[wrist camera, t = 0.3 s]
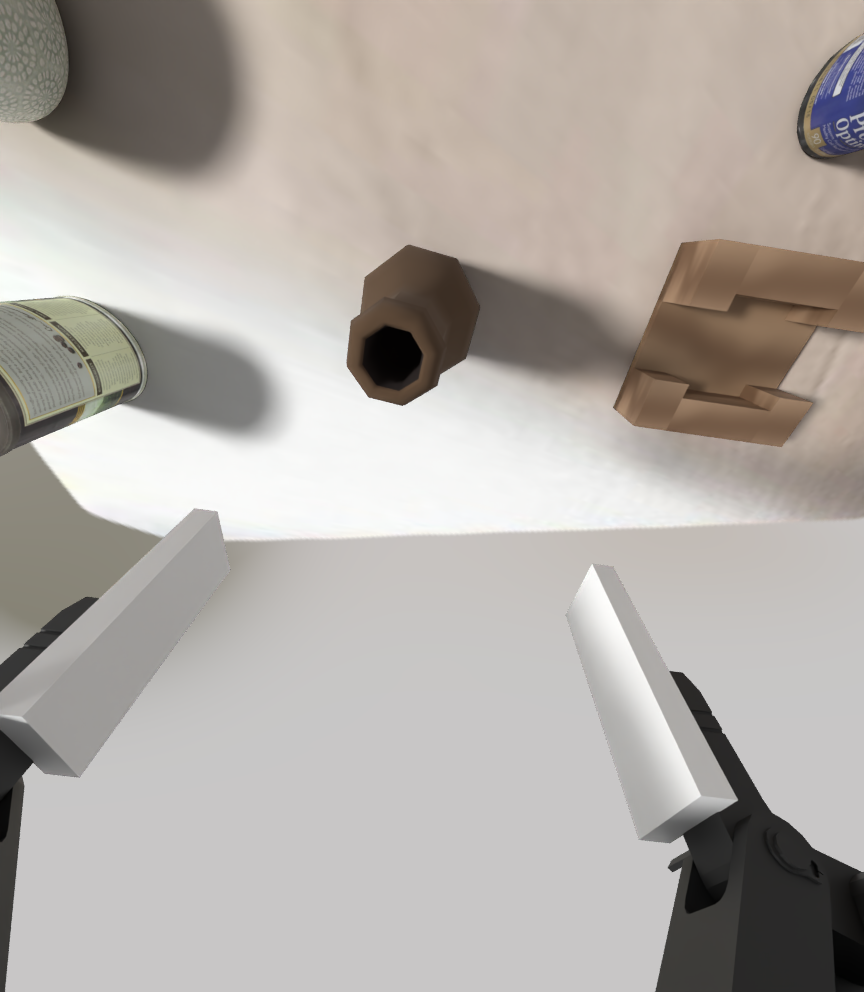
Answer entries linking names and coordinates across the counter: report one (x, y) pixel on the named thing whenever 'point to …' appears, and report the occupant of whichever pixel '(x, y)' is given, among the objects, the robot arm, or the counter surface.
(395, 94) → the counter surface
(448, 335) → the beer bottle
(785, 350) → the socket
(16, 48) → the planter
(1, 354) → the coffee can
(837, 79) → the pill bottle
